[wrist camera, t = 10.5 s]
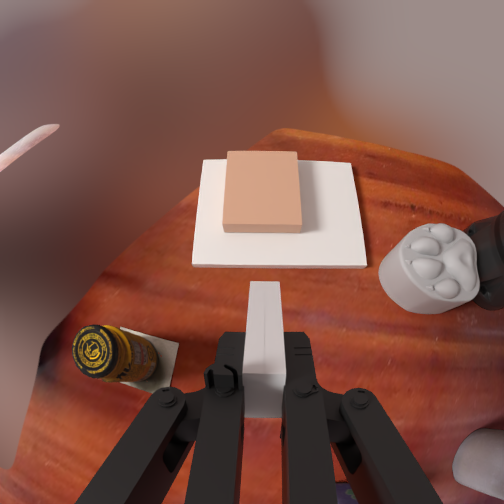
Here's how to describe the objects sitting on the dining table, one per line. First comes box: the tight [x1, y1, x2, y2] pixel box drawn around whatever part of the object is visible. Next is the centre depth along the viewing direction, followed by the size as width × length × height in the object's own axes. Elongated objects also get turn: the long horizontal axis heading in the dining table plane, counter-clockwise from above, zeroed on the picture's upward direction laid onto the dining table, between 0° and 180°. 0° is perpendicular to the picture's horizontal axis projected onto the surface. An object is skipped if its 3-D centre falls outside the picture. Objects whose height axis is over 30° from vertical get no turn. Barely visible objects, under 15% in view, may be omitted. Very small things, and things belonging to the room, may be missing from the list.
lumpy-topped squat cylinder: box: [379, 224, 480, 314], centre depth 35 cm, size 10×13×9 cm
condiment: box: [72, 325, 179, 393], centre depth 30 cm, size 7×8×12 cm
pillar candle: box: [452, 428, 504, 500], centre depth 21 cm, size 10×10×15 cm
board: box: [192, 159, 367, 268], centre depth 42 cm, size 23×17×1 cm
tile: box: [222, 151, 302, 233], centre depth 41 cm, size 10×3×12 cm
